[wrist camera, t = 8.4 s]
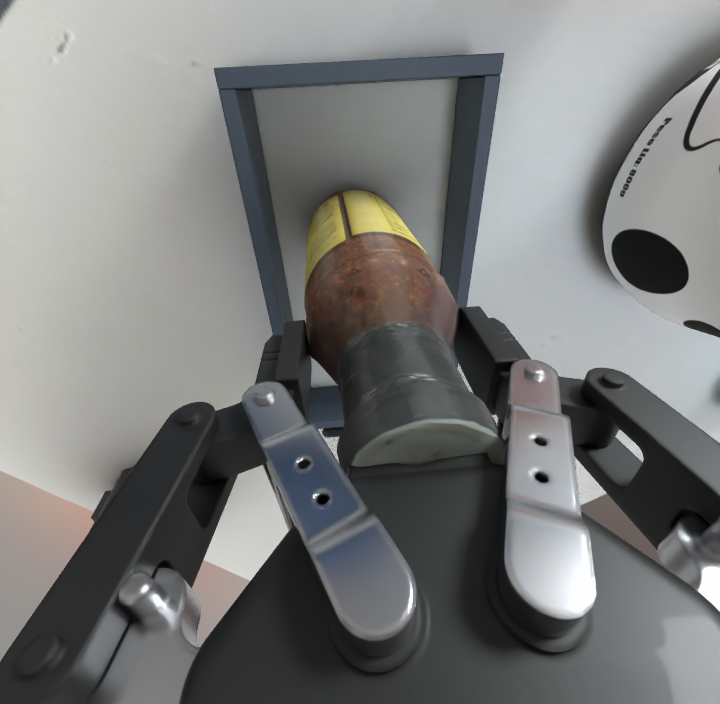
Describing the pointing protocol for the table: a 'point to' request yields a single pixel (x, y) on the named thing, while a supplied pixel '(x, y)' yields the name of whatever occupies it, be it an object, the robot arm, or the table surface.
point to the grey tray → (464, 178)
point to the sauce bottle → (388, 339)
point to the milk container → (672, 209)
